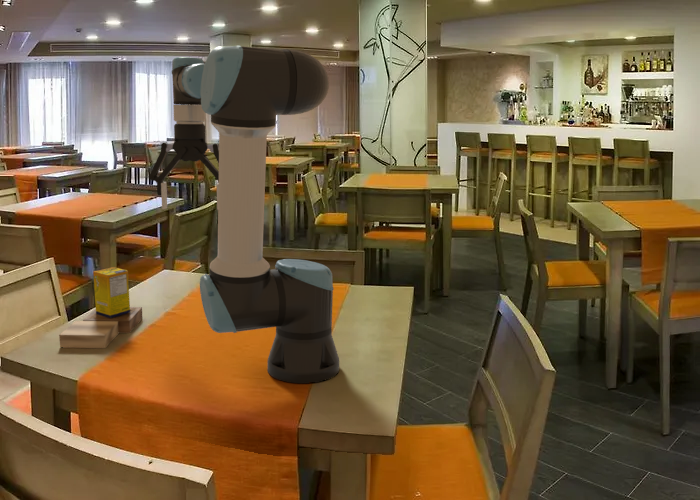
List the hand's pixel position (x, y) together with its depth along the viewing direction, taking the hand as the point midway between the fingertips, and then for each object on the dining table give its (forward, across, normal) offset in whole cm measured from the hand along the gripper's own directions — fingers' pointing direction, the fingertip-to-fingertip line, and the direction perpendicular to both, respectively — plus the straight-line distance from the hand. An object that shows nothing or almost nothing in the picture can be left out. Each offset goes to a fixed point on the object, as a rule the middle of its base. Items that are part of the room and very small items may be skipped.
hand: (192, 208), depth 169 cm
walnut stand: (+28, +19, +7) cm, 35 cm away
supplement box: (+25, +19, +8) cm, 32 cm away
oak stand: (+28, +21, +18) cm, 40 cm away
